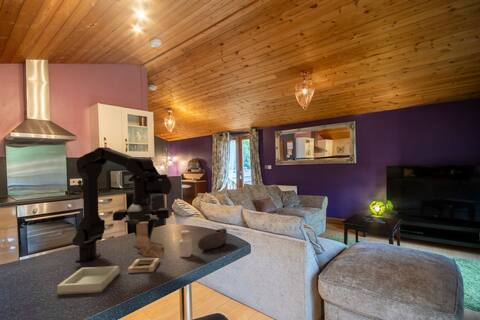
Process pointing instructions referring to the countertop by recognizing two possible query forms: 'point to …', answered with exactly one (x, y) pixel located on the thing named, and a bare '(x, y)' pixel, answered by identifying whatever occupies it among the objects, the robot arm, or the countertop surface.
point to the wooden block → (142, 235)
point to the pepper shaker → (185, 244)
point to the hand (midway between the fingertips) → (143, 238)
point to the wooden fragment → (152, 250)
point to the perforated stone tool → (213, 239)
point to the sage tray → (88, 280)
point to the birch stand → (135, 268)
